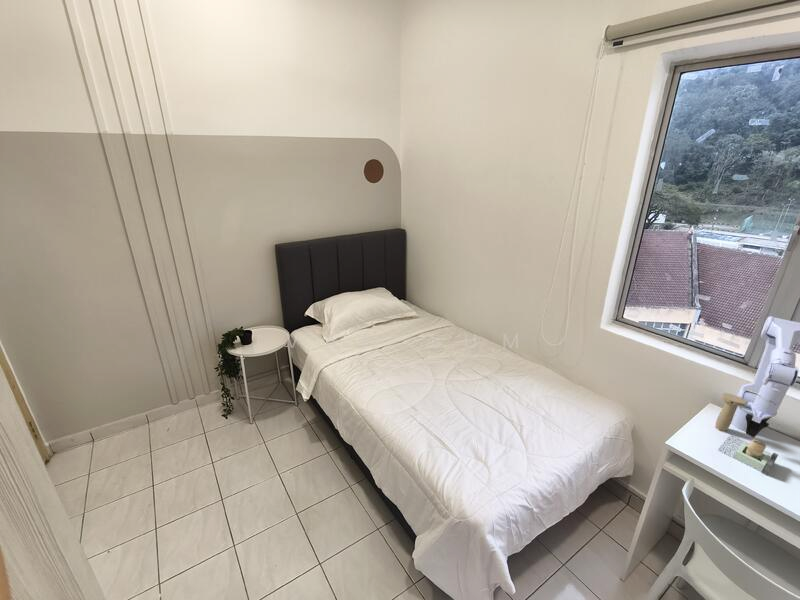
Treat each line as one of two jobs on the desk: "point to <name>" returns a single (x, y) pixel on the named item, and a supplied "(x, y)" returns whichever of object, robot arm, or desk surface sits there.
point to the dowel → (755, 449)
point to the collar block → (751, 458)
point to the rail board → (769, 463)
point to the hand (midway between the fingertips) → (753, 430)
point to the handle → (728, 411)
